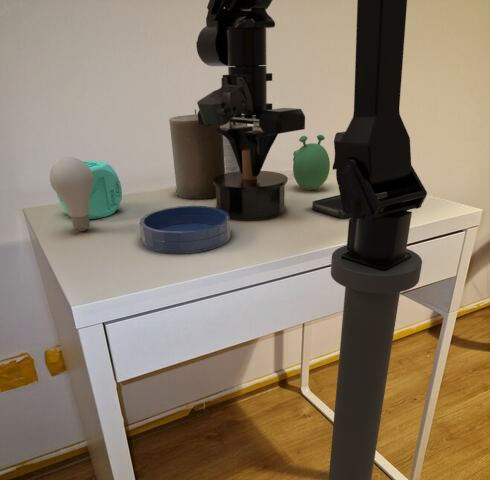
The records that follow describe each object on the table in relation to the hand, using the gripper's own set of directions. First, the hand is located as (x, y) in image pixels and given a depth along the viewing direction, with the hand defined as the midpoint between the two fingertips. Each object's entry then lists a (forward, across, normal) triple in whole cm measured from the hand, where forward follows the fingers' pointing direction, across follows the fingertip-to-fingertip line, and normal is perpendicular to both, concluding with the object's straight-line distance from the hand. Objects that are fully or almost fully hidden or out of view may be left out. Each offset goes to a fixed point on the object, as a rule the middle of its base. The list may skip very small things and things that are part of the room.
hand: (249, 174), depth 77 cm
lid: (+1, 0, 0) cm, 1 cm away
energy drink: (+6, -20, +15) cm, 26 cm away
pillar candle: (+6, -16, +2) cm, 17 cm away
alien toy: (+6, -2, +18) cm, 19 cm away
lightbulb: (+6, -12, -25) cm, 28 cm away
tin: (+6, 0, 0) cm, 6 cm away
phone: (+6, +12, +14) cm, 19 cm away
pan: (+6, +3, -16) cm, 17 cm away
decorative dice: (+6, -20, -19) cm, 28 cm away
